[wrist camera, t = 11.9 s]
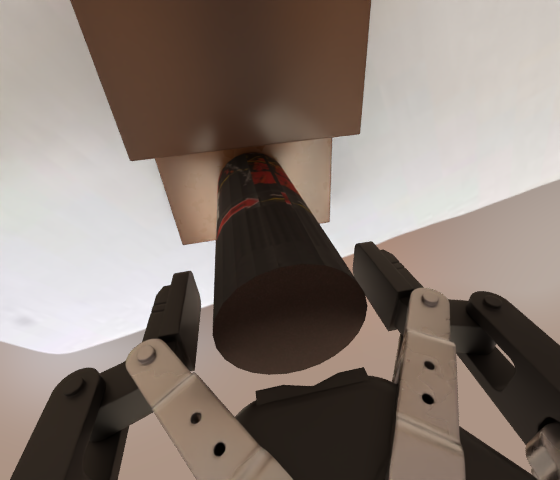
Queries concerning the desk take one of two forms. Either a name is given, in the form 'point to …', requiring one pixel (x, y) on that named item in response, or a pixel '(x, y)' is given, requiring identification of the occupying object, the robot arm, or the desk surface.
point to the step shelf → (230, 89)
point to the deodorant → (277, 275)
